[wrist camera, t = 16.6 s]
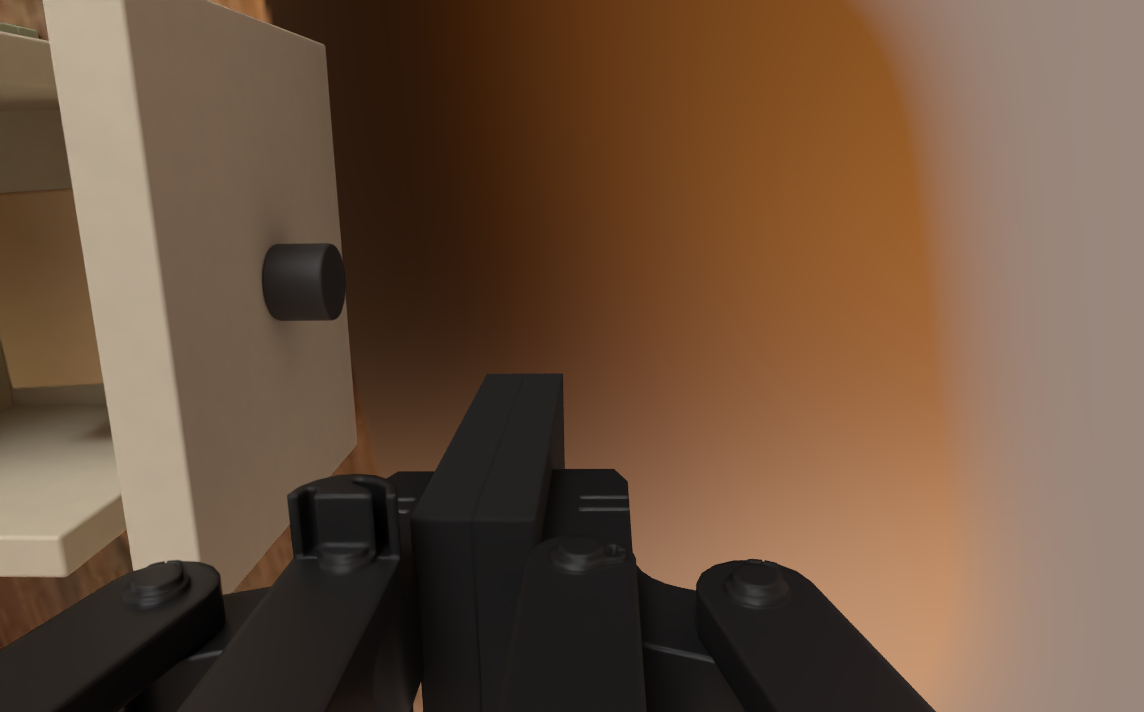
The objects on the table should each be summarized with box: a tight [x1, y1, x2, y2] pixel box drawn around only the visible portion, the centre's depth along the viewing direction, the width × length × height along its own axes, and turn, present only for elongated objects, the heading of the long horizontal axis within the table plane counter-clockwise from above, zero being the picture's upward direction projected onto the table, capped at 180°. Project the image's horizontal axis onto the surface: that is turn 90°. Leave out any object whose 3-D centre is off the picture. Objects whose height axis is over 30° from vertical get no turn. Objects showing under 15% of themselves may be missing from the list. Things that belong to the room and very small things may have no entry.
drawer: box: [0, 0, 358, 595], centre depth 17 cm, size 11×10×9 cm
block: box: [0, 188, 104, 389], centre depth 18 cm, size 4×4×4 cm
